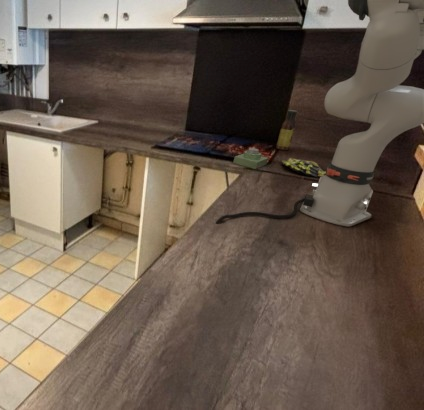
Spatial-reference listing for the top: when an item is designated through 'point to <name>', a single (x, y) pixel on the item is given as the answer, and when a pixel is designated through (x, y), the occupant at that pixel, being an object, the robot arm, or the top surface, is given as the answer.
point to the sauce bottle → (287, 131)
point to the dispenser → (251, 160)
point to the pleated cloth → (304, 167)
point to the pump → (253, 151)
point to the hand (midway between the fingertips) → (390, 63)
